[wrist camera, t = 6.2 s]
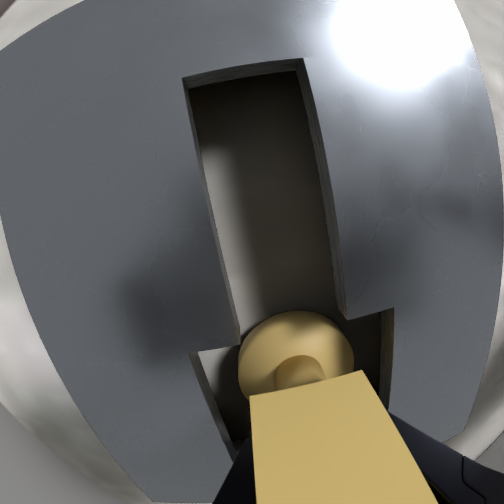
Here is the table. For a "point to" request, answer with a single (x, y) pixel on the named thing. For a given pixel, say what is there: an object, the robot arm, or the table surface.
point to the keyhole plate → (202, 219)
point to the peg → (320, 420)
